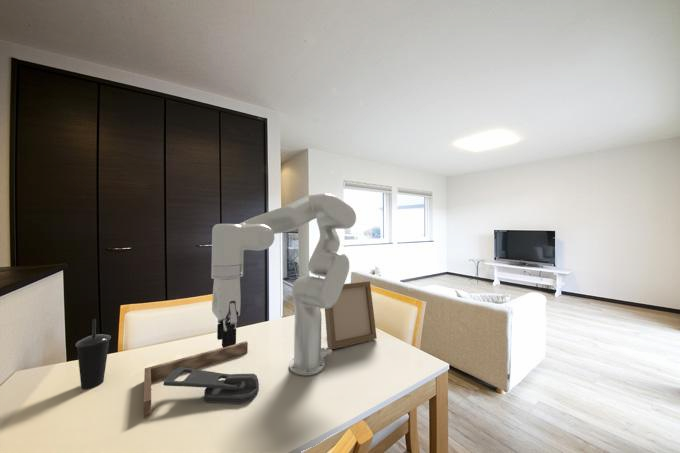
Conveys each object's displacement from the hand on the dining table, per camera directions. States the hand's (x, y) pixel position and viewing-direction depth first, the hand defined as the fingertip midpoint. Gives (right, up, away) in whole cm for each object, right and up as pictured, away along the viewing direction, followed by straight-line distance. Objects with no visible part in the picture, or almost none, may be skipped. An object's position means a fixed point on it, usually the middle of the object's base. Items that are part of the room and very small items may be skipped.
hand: (226, 341), depth 63 cm
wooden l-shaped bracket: (-14, -19, +17) cm, 29 cm away
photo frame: (+33, -21, +45) cm, 59 cm away
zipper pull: (-7, -20, +8) cm, 22 cm away
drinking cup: (-47, -19, +12) cm, 52 cm away
